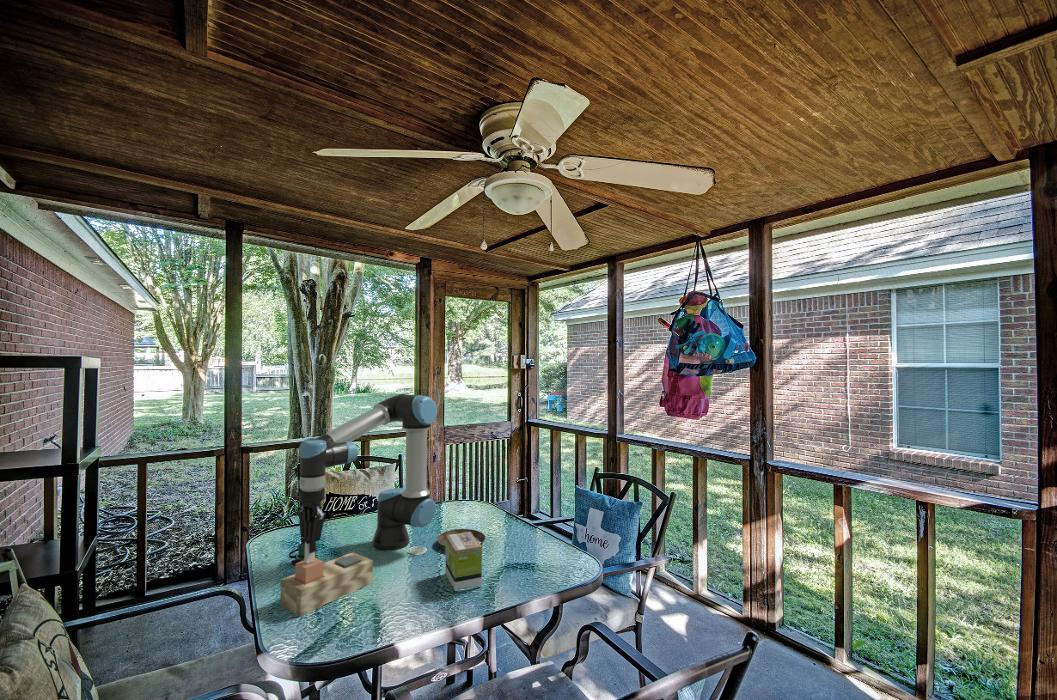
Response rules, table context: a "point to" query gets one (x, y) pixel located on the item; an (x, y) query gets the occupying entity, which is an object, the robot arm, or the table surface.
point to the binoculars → (300, 553)
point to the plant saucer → (476, 534)
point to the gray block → (347, 561)
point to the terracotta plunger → (309, 571)
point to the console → (325, 585)
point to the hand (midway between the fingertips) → (309, 561)
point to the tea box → (463, 561)
